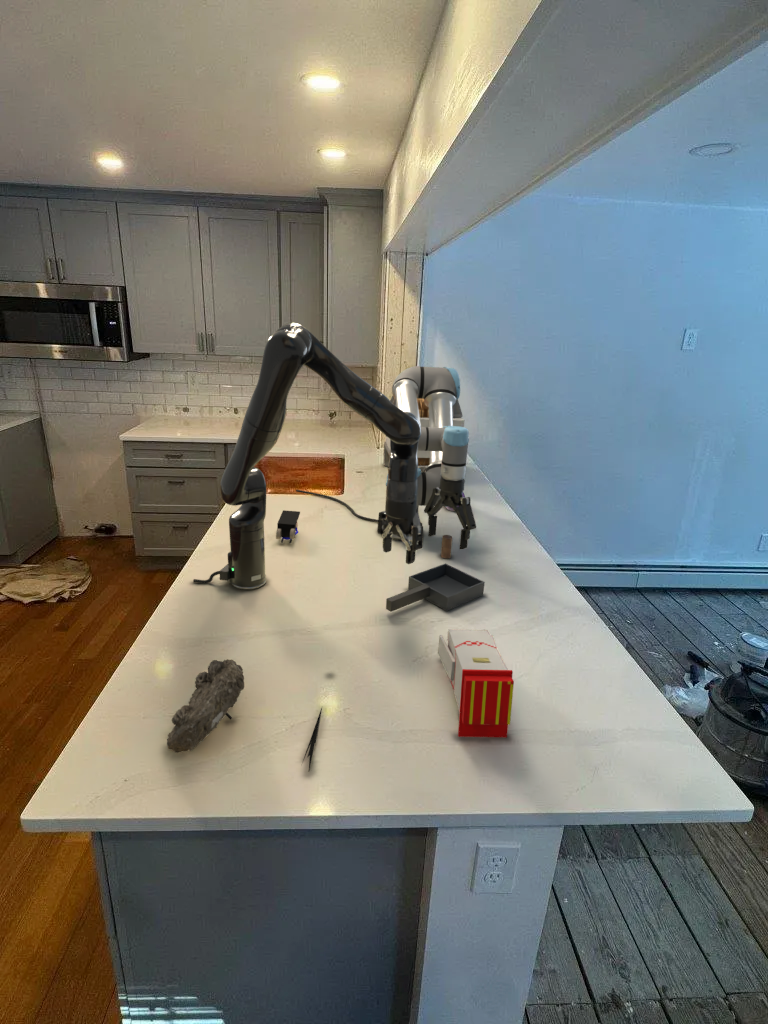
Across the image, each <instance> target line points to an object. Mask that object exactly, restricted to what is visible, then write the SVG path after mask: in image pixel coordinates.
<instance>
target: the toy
mask: <svg viewBox="0 0 768 1024" xmlns="http://www.w3.org/2000/svg"><path fill="white" fill-rule="evenodd" d="M446 640H447V643H446V641H445V639H444V636H443V635H442V634H439V637H438V646H437V656H438V657H439V659H440V661H441V663H442V666H443V668H444V670H445V672H446V674H447V677H448V679H449V681H450V684H451V687H452V690H453V693H454V697H455V701H456V705H457V708H458V711H459V714H458V715H459V716H458V730H457V731H458V732H457V737H458V738H508V731H509V726H510V725H511V717H512V707H513V697H514V696H513V695H514V684H515V680H514V679H513V673H514V671H513V670H512V669H508V667H507V665H506V662H505V661H504V659H503V658H502V655H501V653H500V651H499V649H498V647H497V643H496V639H495V637H494V635H493V634H491V632H490V631H489V629H467V628H466V629H465V628H463V629H461V628H460V629H459V628H448V630H447V639H446Z"/></svg>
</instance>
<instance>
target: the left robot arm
mask: <svg viewBox="0 0 768 1024" xmlns="http://www.w3.org/2000/svg"><path fill="white" fill-rule="evenodd" d="M260 365H261V367H260V371H259V376H258V381H257V384H256V386H255V388H254V391H253V393H252V395H251V398H250V400H249V403H248V406H247V408H246V411H245V414H244V417H243V421H242V424H241V427H240V431H239V434H238V437H237V440H236V443H235V446H234V449H233V451H232V453H231V456H230V458H229V460H228V462H227V464H226V467H225V468H224V472H223V473H222V475H221V478H220V484H219V493H220V497H221V498H222V500H223V502H224V503H225V504H227V505H228V506H231V507H233V506H236V507H237V506H239V508H238V509H236V510H235V511H234V512H233V513H232V514H231V515H230V516H229V517H228V518H229V519H228V531H229V548H230V549H229V550H230V551H229V552H228V553H227V564H226V565H224V566H223V567H222V568H221V569H220V570H217V571H214V572H212V573H211V574H210V575H209V578H208V579H205V580H204V579H196V578H193V580H192V581H193V583H197V584H204V585H205V584H209V583H210V582H212V581H213V579H214V577H215V576H219V580H220V581H225V582H226V581H227V582H228V585H230V586H232V587H234V588H235V589H238V590H245V591H246V590H247V591H249V590H256V589H259V588H261V587H263V586H265V584H266V583H267V578H266V577H267V575H266V553H265V552H266V550H265V549H266V548H265V546H266V545H265V519H266V515H267V483H266V478H265V475H264V473H263V472H262V470H261V469H259V468H258V467H256V465H257V464H258V463H259V462H260V461H261V460H262V459H263V458H264V457H265V456H266V455H268V453H270V451H271V450H272V449H273V448H274V447H275V445H276V444H277V442H278V440H279V438H280V436H281V432H282V430H283V428H284V425H285V421H286V416H287V402H288V396H289V393H290V390H291V389H292V387H293V384H294V382H295V380H296V378H297V376H298V374H299V373H300V371H301V370H302V368H303V367H306V368H307V369H309V370H310V371H312V372H314V373H315V374H316V375H318V376H319V377H320V378H322V379H323V380H324V381H325V383H327V385H328V386H329V387H330V388H331V390H332V391H333V392H334V393H335V395H336V396H337V397H338V398H339V400H341V402H342V403H343V404H344V405H345V406H347V408H349V409H350V410H352V411H353V412H354V413H356V414H357V415H358V416H360V417H361V418H363V419H364V420H366V421H367V422H369V423H371V424H372V425H373V426H374V427H376V428H377V429H378V431H380V432H381V433H382V434H383V435H384V436H385V437H386V436H387V437H388V438H389V439H390V459H389V467H388V468H387V469H388V473H387V475H388V482H387V481H386V482H387V486H386V487H387V489H386V488H385V489H386V490H385V505H386V511H385V510H383V511H380V512H378V518H377V520H378V522H377V531H376V532H377V534H379V535H381V538H382V551H383V553H389V552H391V551H392V547H393V539H392V537H391V536H392V535H393V534H394V535H397V536H399V537H401V539H402V540H401V541H402V543H404V545H405V547H406V551H405V564H407V565H410V564H414V562H416V551H418V550H422V549H423V548H424V526H423V524H422V525H420V526H417V525H414V522H413V518H414V516H415V515H416V507H417V492H418V485H417V475H418V468H419V466H418V458H417V449H418V440H419V438H420V435H421V427H420V423H419V421H418V419H417V417H416V416H415V415H414V414H412V413H410V412H403V411H402V410H400V409H399V408H398V407H396V406H395V405H393V404H392V403H391V402H390V400H391V399H389V398H388V397H387V396H386V395H385V394H383V392H381V391H379V390H378V389H377V388H375V386H373V385H371V384H370V383H368V382H367V381H366V380H364V379H363V378H361V377H360V376H359V375H358V374H357V373H355V372H354V371H353V370H352V369H350V368H349V367H348V366H347V365H345V364H344V362H342V361H341V360H340V359H339V358H338V356H336V355H335V354H334V353H333V352H331V350H330V349H328V348H327V347H326V346H325V345H324V344H323V343H322V342H321V341H320V340H319V339H318V338H317V337H316V336H315V335H314V334H313V333H312V332H311V331H310V330H309V329H308V328H306V327H305V326H304V325H303V324H300V323H297V322H288V323H284V324H283V325H281V326H280V327H279V328H278V329H277V330H276V331H274V332H273V333H272V334H271V335H270V336H269V338H268V339H267V341H266V343H265V347H264V350H263V355H262V361H261V364H260ZM382 526H383V528H382ZM408 535H410V537H408V538H407V537H406V536H408Z"/></svg>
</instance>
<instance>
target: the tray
mask: <svg viewBox="0 0 768 1024" xmlns="http://www.w3.org/2000/svg"><path fill="white" fill-rule="evenodd" d="M485 583H486V582H485V581H483V580H481V579H479V578H477V577H475V576H473V575H471V574H469V573H467V572H465V571H462V570H460V569H459V568H456V567H454V566H452V565H450V564H448V563H443V564H440V565H437V566H434V567H432V568H428V569H425V570H423V571H421V572H418V573H415V574H412V575H410V576H408V585H407V590H406V591H403V592H400V593H398V594H394V595H391V596H390V597H387V598H386V601H385V609H386V610H387V611H388V612H390V613H391V612H394V611H398V610H400V609H402V608H405V607H407V606H409V605H411V604H414V603H417V602H419V601H422V600H425V601H428V602H429V603H432V604H433V605H435V606H437V607H438V608H440V609H442V610H444V611H445V612H447V611H450V610H452V609H454V608H457V607H459V606H462V605H464V604H466V603H468V602H470V601H473V600H475V599H478V598H479V597H482V596H484V590H485Z"/></svg>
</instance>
